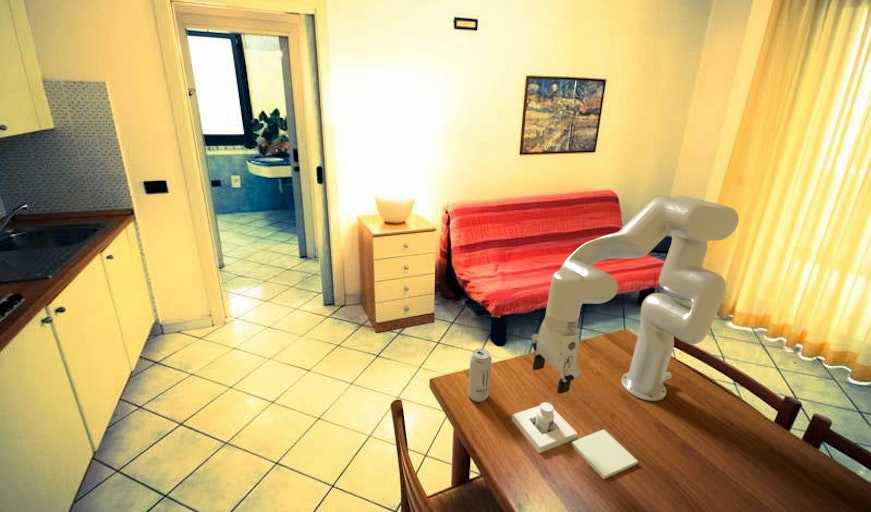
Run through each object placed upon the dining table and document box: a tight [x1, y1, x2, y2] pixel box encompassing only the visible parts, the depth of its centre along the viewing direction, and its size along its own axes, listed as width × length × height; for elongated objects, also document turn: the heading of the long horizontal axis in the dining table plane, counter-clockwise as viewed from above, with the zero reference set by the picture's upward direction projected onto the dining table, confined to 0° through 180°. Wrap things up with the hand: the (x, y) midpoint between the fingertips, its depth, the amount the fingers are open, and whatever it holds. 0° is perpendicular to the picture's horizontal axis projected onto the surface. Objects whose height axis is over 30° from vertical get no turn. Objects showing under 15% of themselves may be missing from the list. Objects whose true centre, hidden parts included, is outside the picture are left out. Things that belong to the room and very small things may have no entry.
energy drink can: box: [467, 348, 492, 403], centre depth 118 cm, size 6×6×15 cm
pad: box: [571, 429, 638, 480], centre depth 102 cm, size 11×11×1 cm
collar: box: [511, 405, 578, 454], centre depth 109 cm, size 12×12×2 cm
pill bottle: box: [534, 401, 555, 434], centre depth 108 cm, size 4×4×8 cm
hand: (550, 379), depth 103 cm, fingers open, 9 cm apart
